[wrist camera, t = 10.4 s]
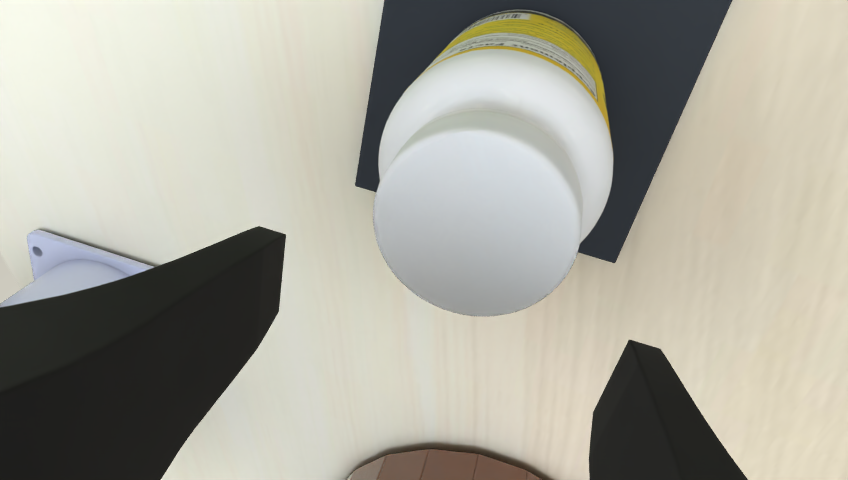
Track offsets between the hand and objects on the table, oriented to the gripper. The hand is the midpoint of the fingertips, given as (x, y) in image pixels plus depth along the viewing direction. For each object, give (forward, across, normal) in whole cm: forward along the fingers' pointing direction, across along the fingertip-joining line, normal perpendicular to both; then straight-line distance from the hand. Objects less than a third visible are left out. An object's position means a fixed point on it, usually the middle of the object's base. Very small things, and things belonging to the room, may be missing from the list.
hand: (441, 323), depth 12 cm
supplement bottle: (+10, 0, -2) cm, 10 cm away
